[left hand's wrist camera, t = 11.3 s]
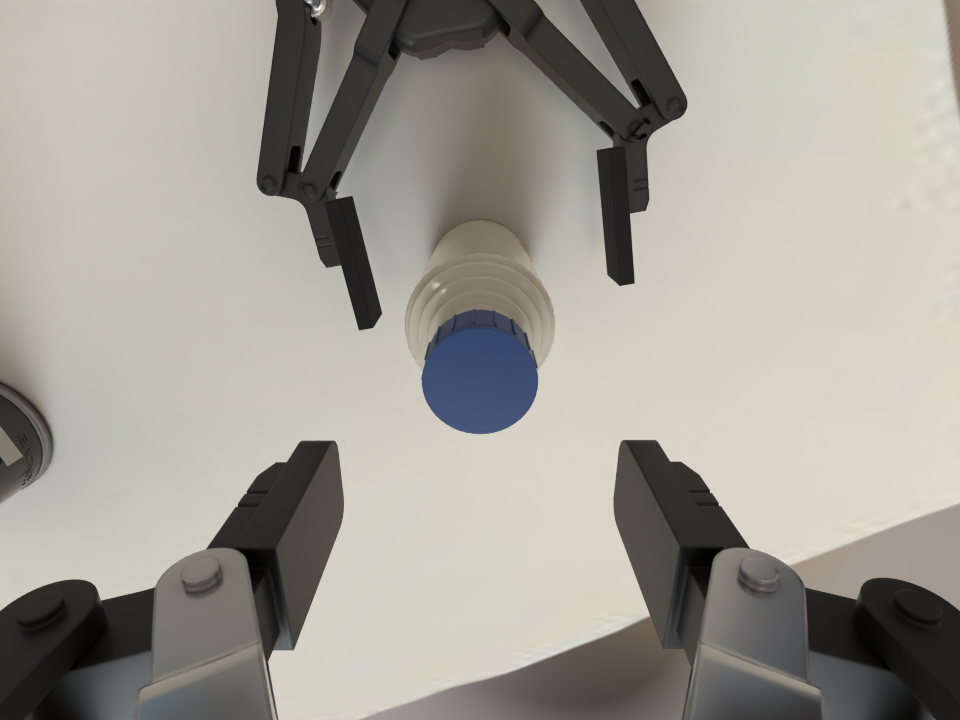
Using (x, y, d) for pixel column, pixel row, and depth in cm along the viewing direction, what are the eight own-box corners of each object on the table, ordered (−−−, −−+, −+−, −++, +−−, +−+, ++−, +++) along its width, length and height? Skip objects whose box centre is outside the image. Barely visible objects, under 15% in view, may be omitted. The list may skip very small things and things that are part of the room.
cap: (468, 285, 18) (466, 301, 16) (555, 348, 19) (564, 371, 17) (406, 369, 19) (397, 394, 17) (491, 425, 20) (492, 455, 18)
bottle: (468, 198, 32) (457, 240, 16) (550, 260, 33) (617, 359, 17) (410, 281, 34) (346, 397, 17) (490, 337, 35) (498, 492, 19)
